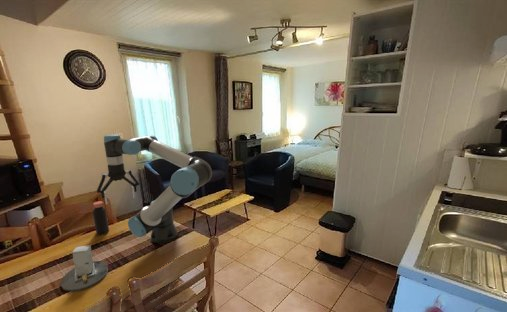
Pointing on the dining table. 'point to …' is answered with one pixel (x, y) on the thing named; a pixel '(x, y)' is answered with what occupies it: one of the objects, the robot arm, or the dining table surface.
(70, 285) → the flange plate
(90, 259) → the skincare box
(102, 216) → the bottle
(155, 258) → the dining table surface
